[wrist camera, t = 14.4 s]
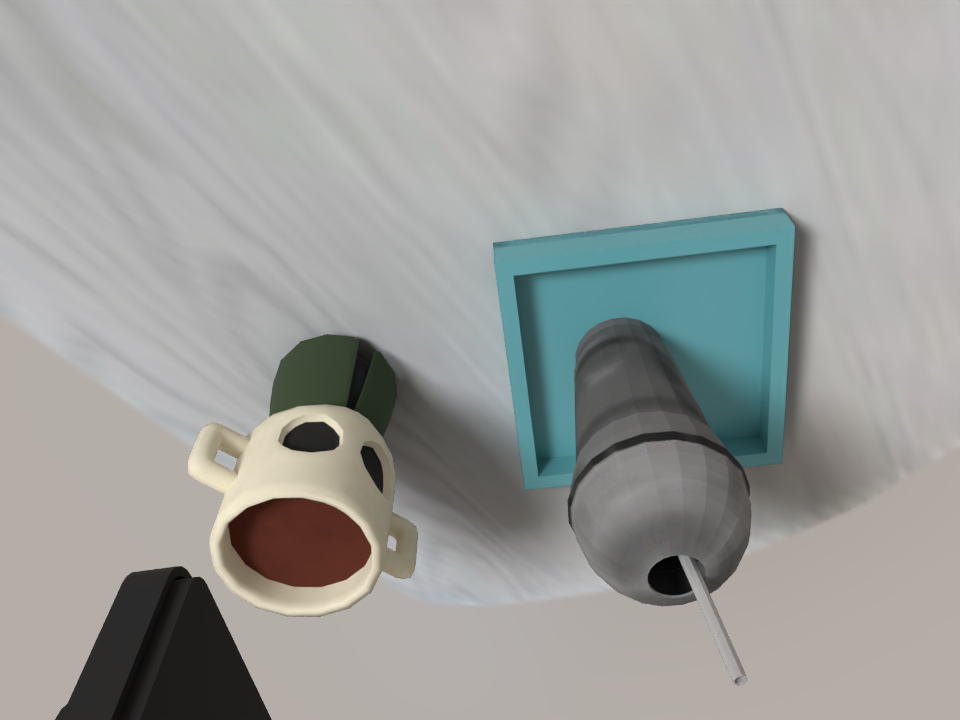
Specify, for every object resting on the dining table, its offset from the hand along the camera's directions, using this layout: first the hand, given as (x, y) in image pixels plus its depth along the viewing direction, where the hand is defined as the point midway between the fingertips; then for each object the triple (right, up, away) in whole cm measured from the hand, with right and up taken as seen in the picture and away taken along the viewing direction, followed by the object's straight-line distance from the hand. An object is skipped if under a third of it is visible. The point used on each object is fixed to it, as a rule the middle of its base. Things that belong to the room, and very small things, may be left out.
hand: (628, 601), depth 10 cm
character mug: (-9, +2, +38) cm, 39 cm away
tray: (+7, +3, +37) cm, 38 cm away
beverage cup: (+5, +3, +36) cm, 37 cm away
